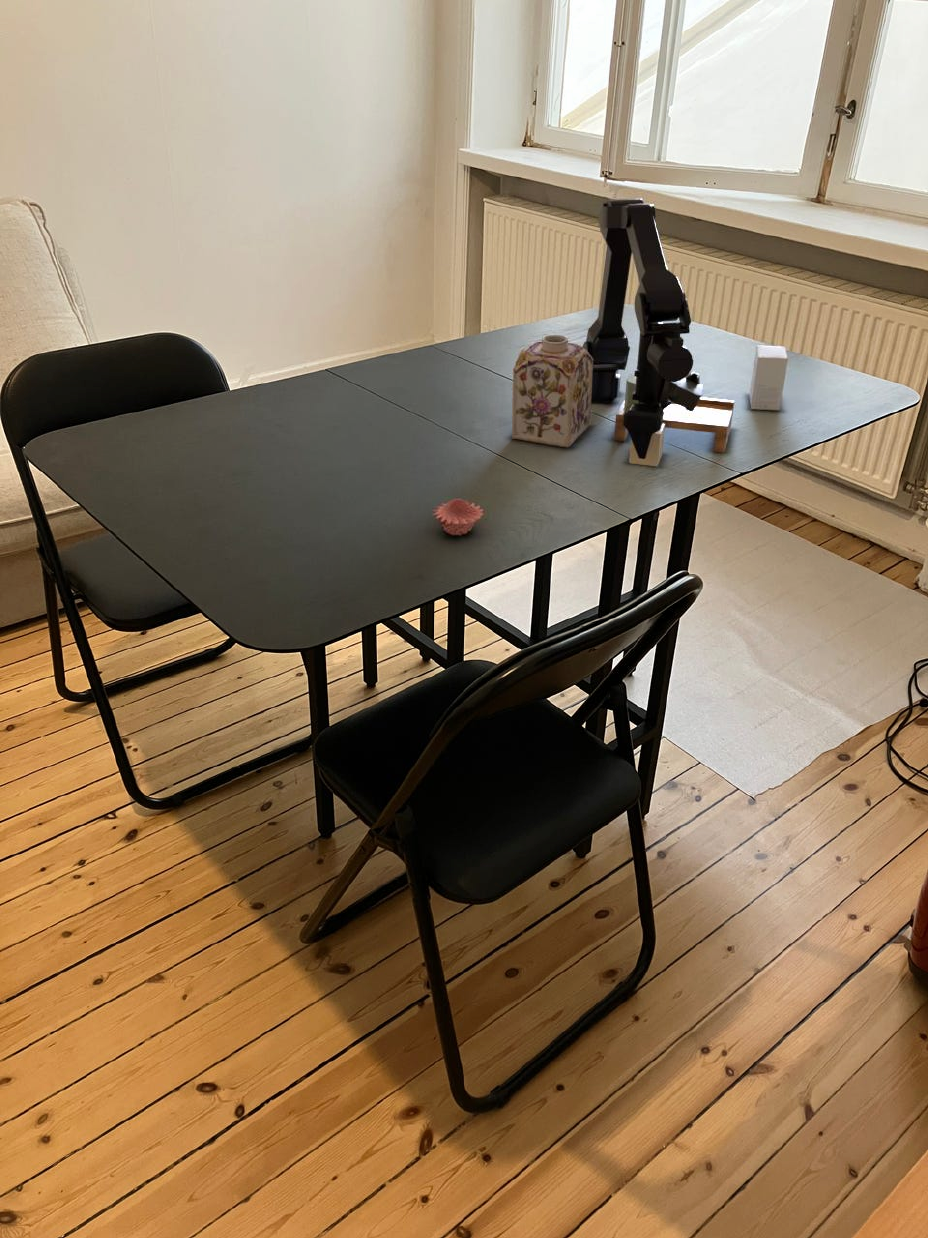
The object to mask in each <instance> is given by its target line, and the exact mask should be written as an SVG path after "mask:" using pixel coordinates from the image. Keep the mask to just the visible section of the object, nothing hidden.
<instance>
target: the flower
mask: <svg viewBox="0 0 928 1238" xmlns="http://www.w3.org/2000/svg"><path fill="white" fill-rule="evenodd" d="M434 507H435V508H436V509H433V510H432V512H435V513H432V516H434V517H435V518H434V519H435V520H438V522H439V525H441V527H443V531H445V533H448V534H449V535H452V536H462V535H466V534H467V533H468V532H470V531H471V530H472V528H473V527H474V526H475V523H476V522H477V521H479V520H480V519H482V516H483V515H485V514H484V512H483V511H484V509H482V508H481V505H477V506H475V502H472V503H471V504H470V503H469V501H467V500H466V499H461V498H455V499H451V500H450V501H448V502H447V503H440V505H439V506H436V505H435V506H434ZM480 508H481V509H480Z"/></svg>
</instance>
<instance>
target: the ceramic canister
mask: <svg viewBox="0 0 928 1238" xmlns="http://www.w3.org/2000/svg"><path fill="white" fill-rule="evenodd" d="M625 381H626V382H625V392H624V393H625V395H624V399H625V407H627V408H628V407H629V406H630V405H632V404H633V403H637V404H639V402H638V400H632V398H633V393H634V391H635V385H636V377H635V376H634V375H630V376H628V377H627V378H626V380H625Z"/></svg>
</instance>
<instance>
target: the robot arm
mask: <svg viewBox="0 0 928 1238" xmlns="http://www.w3.org/2000/svg"><path fill="white" fill-rule="evenodd" d="M643 200H644V199H642V198H638V197H637V198H618V199H617V198H616V199H614V198H613V199H607V200H606V201H605V202H603V203H602V205H601V206H600V207H599V211H598V225H599V231H600V233H601V235H602V238H603V240H604V242H605V244H606V250H605V251H606V252H605V259H604V266H603V273H602V275H603V276H602V283H601V291H600V299H599V306H598V315H597V318H596V319H595V321H594V322H593V323H592V324H591V326H590V327H589V328H588V330H587V333H586V335H587V336H586V340H585V341H584V342H583V344H582V345H581V346H582V347H583V348H584V349H585V350H587V352H588V353H589V354H590V355H591V357H592V359H593V360H594V361H593V371H592V394H591V403H602V404H614V403H615V401H616V399H617V398H618V397H619V395H620V393H621V392H620V390H621V377H622V374H620V373H619V371H625V370H626V367H627V364H628V360H629V354H630V351H631V346H630V345H629V338H628V336H627V334H626V332H625V330H624V327H623V325H622V324H623V316H624V310H625V303H626V298H627V290H628V283H629V276H630V268H631V262H632V259H633V261H634V265H635V269H636V274H637V277H638V278H637V279H638V283H639V284H638V287H637V290H636V293H635V296H634V305H633V306H634V313H635V317H636V321H637V326H638V329H639V337H638V338H639V339H638V353H637V362H636V368H635V369H634V375H633V376H635V377H636V385H635V391H634V393H633V398H632V400H638V402H639V404H637V403H633V404H632V405H630V406H629V407H628V408H627V410H626V412H625V414H624V420H623V426H625V428H626V429H627V430H628V435H629V437H630V440H631V439H632V442H633V444H634V447H635V449H636V452H637V455H638V457H639V458H640V459H645V458H646V455H647V451H648V448H649V445H650V441H651V438H652V434H654V433H655V432H658V431H659V430H660V429H661V427H662V425H663V419H664V411H663V410H664V409H665V408H666V407H668V406H669V405H670V404H671V403H672V402H673V403H675V404H677V405H680V406H682V407H684V408H685V409H686V410H688V411H691V412H692V411H694V409H695V407H696V406H697V404H698V402H699V400H700V398H702V396H703V394H704V391H705V388H704V387H703V386H704V384H701V382H700V379H701V377H700V374H699V373H697V372H695V371H692V370H693V366H694V357H693V354H692V353H691V351H690V350H689V349H688V348H687V347H686V346H685V345H684V343H685V342H684V341H685V340H684V338H683V337H682V336H681V335H684V334H690V332H691V328H690V326H691V323H692V318H691V313H690V306H689V303H688V299H687V295H686V292H685V291H683V288H682V285H681V282H680V280H679V278H678V276H676V275H675V274H674V273H673V272H671V271H670V270H669V268H668V267H667V263H666V259H665V256H664V255H665V254H664V251H663V248H662V245H661V240H660V237H659V232H658V228H657V225H656V208H655V205H654V204H650V203H644V201H643ZM677 321H678V322H677Z"/></svg>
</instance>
